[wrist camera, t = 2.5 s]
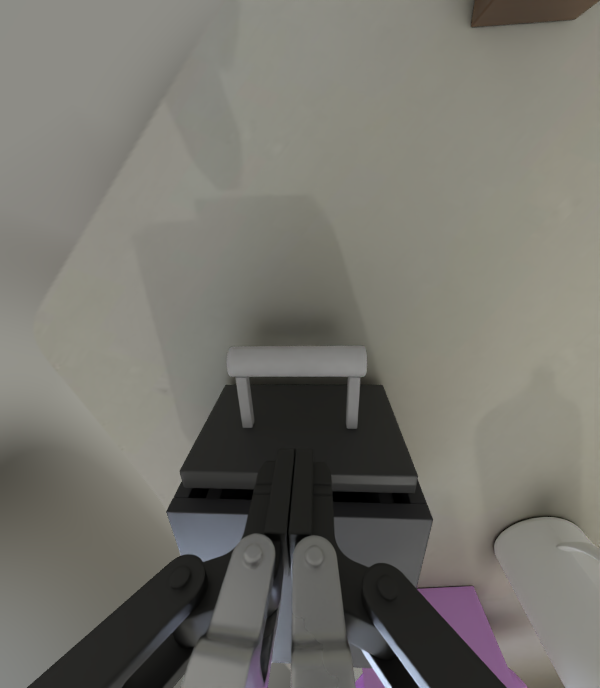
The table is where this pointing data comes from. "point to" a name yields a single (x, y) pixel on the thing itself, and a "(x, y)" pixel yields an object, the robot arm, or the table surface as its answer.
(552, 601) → the mug
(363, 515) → the cabinet
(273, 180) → the table surface
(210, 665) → the robot arm
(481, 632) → the teapot
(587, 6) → the block
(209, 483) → the drawer
